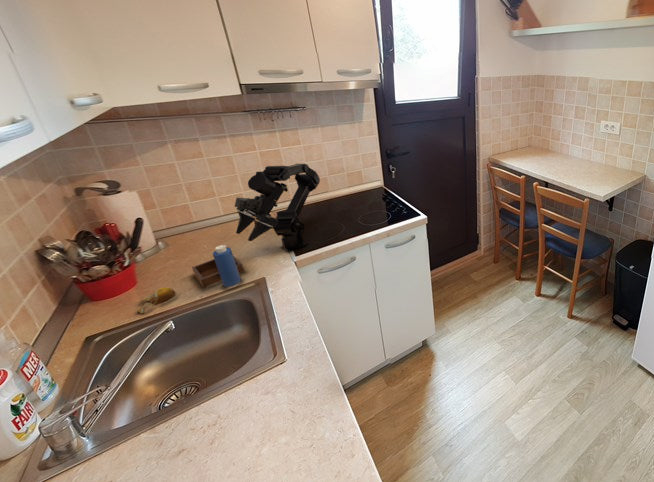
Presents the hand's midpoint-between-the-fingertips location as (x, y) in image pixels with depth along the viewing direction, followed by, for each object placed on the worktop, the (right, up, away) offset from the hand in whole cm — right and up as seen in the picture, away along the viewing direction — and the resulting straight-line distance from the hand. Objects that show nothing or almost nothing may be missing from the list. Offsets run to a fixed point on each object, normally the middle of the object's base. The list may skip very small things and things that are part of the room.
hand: (243, 237), depth 115 cm
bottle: (-1, -15, -4) cm, 16 cm away
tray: (-9, -14, +1) cm, 16 cm away
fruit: (-19, -19, -12) cm, 29 cm away
